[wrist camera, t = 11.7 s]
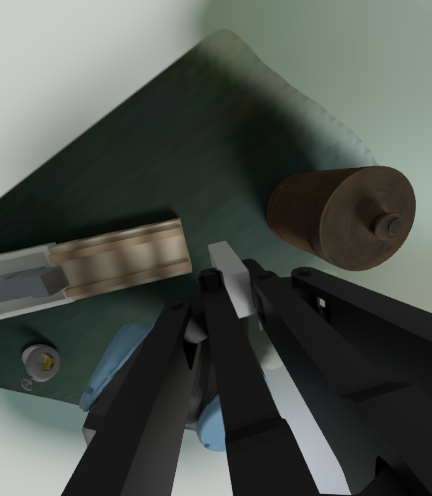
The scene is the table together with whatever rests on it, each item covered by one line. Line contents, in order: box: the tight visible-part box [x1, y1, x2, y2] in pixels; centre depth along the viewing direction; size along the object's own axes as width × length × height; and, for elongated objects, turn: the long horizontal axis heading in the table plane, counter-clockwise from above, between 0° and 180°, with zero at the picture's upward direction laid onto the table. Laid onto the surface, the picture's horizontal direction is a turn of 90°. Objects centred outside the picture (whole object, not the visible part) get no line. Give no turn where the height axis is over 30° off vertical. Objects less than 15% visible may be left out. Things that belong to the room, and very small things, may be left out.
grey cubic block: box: [0, 271, 22, 303], centre depth 38 cm, size 4×4×4 cm
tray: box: [0, 242, 75, 319], centre depth 40 cm, size 16×12×2 cm
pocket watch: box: [21, 344, 60, 391], centre depth 41 cm, size 8×8×10 cm
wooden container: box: [267, 166, 416, 271], centre depth 35 cm, size 15×15×22 cm
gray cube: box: [22, 266, 69, 298], centre depth 37 cm, size 4×4×4 cm
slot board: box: [48, 218, 192, 301], centre depth 41 cm, size 24×11×4 cm, turn 101°
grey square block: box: [6, 266, 45, 299], centre depth 39 cm, size 4×4×4 cm
